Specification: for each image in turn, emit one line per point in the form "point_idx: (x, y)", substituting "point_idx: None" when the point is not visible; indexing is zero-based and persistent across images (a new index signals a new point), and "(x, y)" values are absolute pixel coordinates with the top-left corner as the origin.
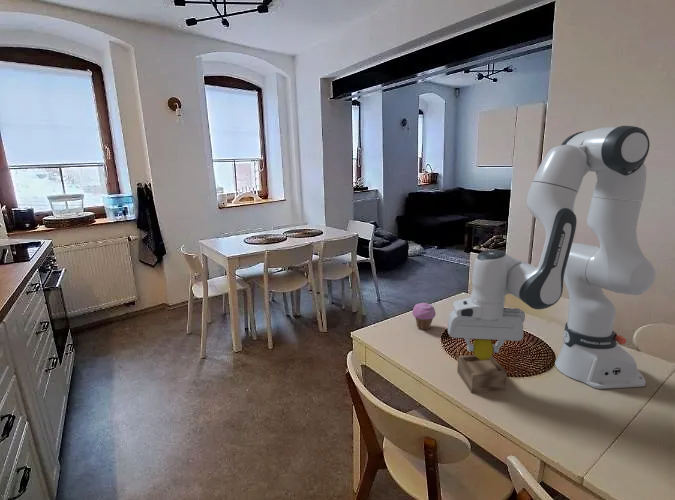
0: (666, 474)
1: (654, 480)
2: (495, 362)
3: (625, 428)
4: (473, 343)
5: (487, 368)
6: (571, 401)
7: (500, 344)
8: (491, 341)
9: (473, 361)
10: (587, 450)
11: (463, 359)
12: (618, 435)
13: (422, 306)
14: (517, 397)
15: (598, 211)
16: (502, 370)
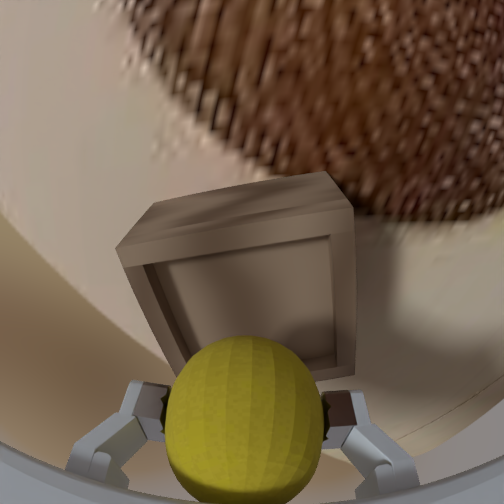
0: (453, 435)
1: (430, 445)
2: (343, 305)
3: (496, 380)
4: (166, 422)
5: (282, 320)
6: (486, 331)
7: (365, 473)
8: (308, 481)
9: (216, 260)
10: (392, 434)
11: (145, 284)
12: (471, 398)
13: None
14: (359, 340)
15: None
16: (342, 364)
